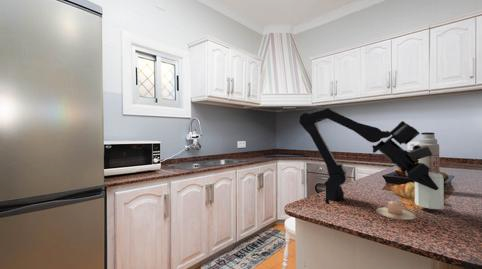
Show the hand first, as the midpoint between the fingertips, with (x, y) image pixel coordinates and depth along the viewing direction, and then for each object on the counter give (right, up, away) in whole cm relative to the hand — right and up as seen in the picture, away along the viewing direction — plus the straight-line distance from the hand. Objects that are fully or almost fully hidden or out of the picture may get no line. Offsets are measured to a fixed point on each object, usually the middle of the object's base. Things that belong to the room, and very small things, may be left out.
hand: (433, 186), depth 76 cm
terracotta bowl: (-14, -8, -2) cm, 17 cm away
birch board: (-14, -10, -2) cm, 17 cm away
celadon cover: (-1, -7, +1) cm, 7 cm away
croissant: (+8, -10, +19) cm, 23 cm away
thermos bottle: (+23, -9, +30) cm, 39 cm away
